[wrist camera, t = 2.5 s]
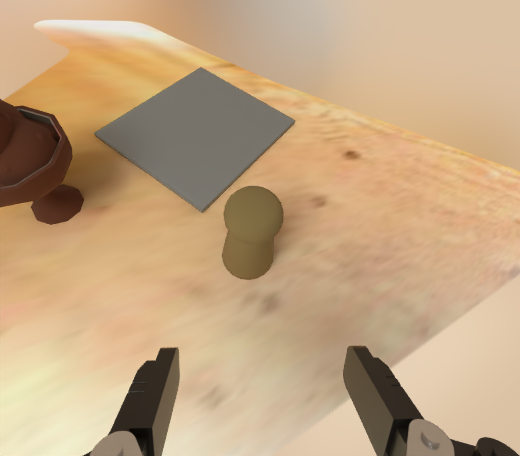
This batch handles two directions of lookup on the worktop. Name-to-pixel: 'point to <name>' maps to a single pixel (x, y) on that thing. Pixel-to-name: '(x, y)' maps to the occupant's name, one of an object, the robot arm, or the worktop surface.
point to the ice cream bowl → (36, 164)
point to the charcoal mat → (196, 135)
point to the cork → (251, 231)
